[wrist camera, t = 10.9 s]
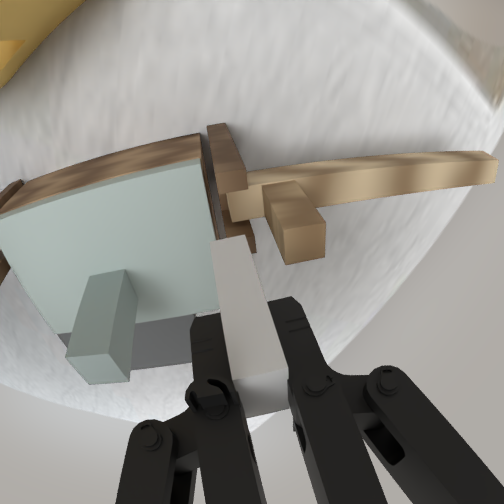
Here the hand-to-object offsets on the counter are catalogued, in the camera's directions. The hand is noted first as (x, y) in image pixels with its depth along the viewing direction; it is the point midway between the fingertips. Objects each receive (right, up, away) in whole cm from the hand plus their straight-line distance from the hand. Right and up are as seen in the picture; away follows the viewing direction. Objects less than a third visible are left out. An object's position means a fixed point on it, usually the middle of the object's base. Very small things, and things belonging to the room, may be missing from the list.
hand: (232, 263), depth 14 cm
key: (+10, +7, +7) cm, 14 cm away
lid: (-11, 0, +9) cm, 14 cm away
